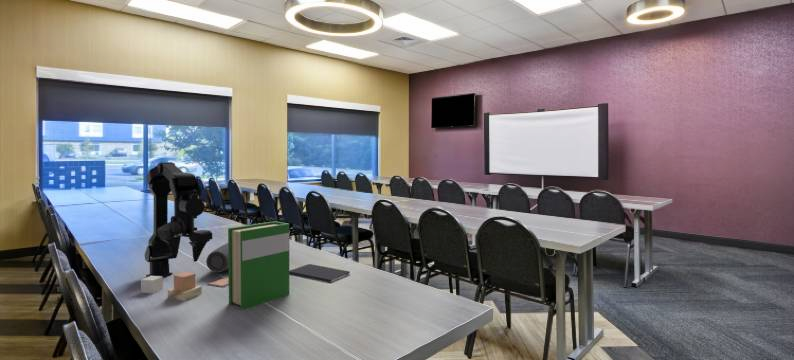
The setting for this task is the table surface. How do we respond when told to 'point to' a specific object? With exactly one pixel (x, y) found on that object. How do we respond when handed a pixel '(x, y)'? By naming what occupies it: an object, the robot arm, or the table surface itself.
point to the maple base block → (184, 293)
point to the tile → (220, 283)
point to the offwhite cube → (151, 284)
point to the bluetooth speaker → (218, 259)
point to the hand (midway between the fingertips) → (185, 259)
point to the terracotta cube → (184, 281)
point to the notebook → (319, 273)
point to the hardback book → (258, 263)
